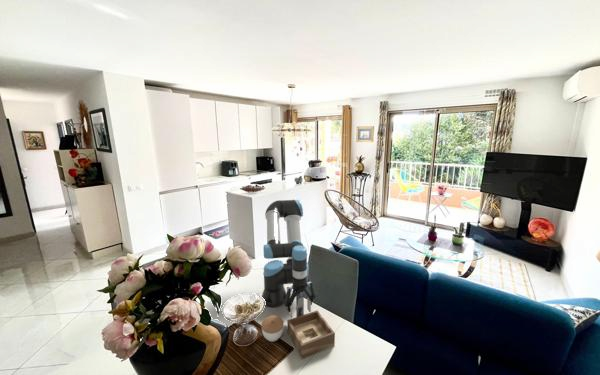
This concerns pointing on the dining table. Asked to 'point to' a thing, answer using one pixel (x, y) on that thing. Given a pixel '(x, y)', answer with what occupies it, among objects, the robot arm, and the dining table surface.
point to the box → (307, 326)
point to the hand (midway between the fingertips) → (300, 313)
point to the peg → (299, 305)
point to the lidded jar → (272, 328)
